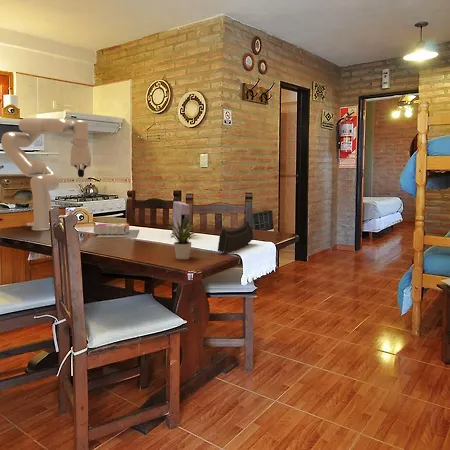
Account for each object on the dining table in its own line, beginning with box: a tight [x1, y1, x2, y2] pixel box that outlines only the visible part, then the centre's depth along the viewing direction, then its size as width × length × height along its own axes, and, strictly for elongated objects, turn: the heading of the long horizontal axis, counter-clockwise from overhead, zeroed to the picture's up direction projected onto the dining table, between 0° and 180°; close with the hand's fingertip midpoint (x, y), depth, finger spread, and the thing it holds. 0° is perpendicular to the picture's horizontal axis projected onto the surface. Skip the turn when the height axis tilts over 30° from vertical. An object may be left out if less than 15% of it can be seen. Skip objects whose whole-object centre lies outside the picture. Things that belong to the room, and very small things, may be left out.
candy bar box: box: [93, 223, 130, 236], centre depth 239 cm, size 11×5×16 cm
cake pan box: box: [171, 201, 190, 239], centre depth 235 cm, size 19×5×18 cm, turn 20°
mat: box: [96, 229, 140, 239], centre depth 240 cm, size 20×24×1 cm
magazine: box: [217, 221, 254, 253], centre depth 199 cm, size 17×3×30 cm
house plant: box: [167, 219, 199, 260], centre depth 178 cm, size 14×14×16 cm
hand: (80, 177), depth 247 cm, fingers closed
